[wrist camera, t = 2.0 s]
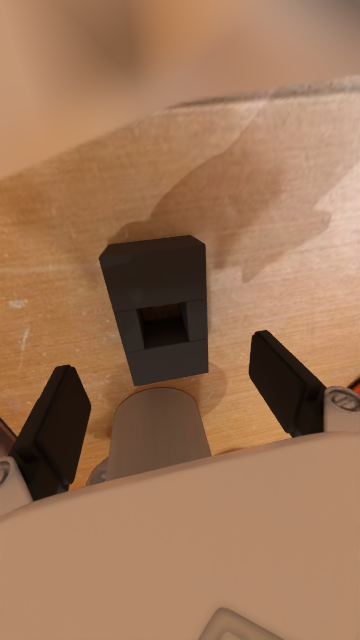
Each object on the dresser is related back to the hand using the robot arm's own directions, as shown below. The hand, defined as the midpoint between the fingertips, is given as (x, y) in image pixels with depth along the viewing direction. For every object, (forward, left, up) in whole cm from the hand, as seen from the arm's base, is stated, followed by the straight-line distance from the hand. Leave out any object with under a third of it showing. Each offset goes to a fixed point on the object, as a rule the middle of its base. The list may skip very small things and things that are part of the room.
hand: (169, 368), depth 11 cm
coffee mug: (+15, -4, -8) cm, 17 cm away
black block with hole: (0, 0, -8) cm, 8 cm away
